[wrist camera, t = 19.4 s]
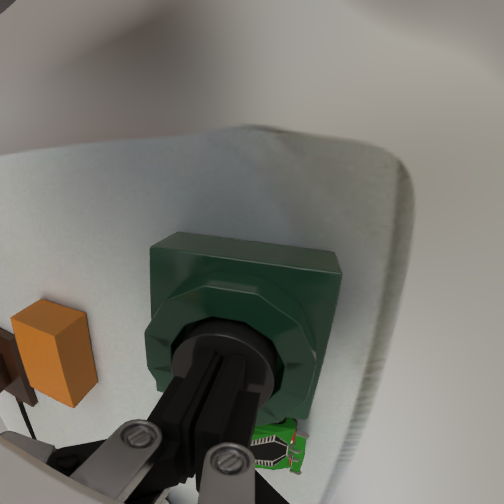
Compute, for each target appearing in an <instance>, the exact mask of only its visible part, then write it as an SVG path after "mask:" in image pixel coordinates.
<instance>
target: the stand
mask: <svg viewBox="0 0 504 504" xmlns="http://www.w3.org/2000/svg"><path fill="white" fill-rule="evenodd" d="M3 390H6V391H7V392H9V393H10V394H12V395H14V396H15V397H17V398H18V399H20V400H22V401H23V402H25V403H27V404H28V405H30V406H32V407H34V406H35V405H36V404H37V403H38V401H37V398H36V396H35V393H34V390H33V388H32V387H31V386H30V383H29V380H28V377H27V374H26V371H25V368H24V365H23V362H22V359H21V355H20V352H19V349H18V345H17V342H16V338H15V336H14V335H12V334H10V333H8V332H6V331H4V330H3V329H1V328H0V393H1V392H2V391H3Z"/></svg>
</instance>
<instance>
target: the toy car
mask: <svg viewBox="0 0 504 504" xmlns="http://www.w3.org/2000/svg"><path fill="white" fill-rule="evenodd" d="M297 422H298V421H297V420H296V419H295V418H289V417H285V418H283V419H282V420H281V421H279V422H275V423H270V424H265V425H260V426H255V428H254V432H253V437H252V441H251V445H250V449H249V450H250V451H251V452H252V454H253V455H254V459H255V468H265V469H271V470H276V469H282V468H288V467H290V466H291V460H292V466H291V469H290V472H291V473H294V474H297V475H300V474H301V470H300V468H301V465H302V462H303V459H304V455H305V444H306V438H308V437H309V435H308V433H307V432H297V429H296V426H297ZM295 437H296V438H295ZM295 439H296V440H295ZM294 446H295V447H294ZM292 455H293V459H292Z"/></svg>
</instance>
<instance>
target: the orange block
mask: <svg viewBox="0 0 504 504" xmlns="http://www.w3.org/2000/svg"><path fill="white" fill-rule="evenodd" d="M11 322H12V326H13V330H14V334H15V338H16V342H17V345H18V349H19V352H20V355H21V359H22V362H23V365H24V368H25V371H26V374H27V377H28V380H29V383H30V386H31V387H33V388H35V389H36V390H38V391H40V392H42V393H44V394H46V395H48V396H50V397H51V398H53V399H55V400H57V401H59V402H61V403H63V404H66V405H68V406H70V407H72V408H75V407H76V406H77V405H78V403H79V402H80V401H81V400H82V399H83V398H84V397H85V396H86V394H87V393H88V392H89V391H90V390H91V389H92V388H93V387H94V386H95V384H96V383H97V382H98V379H97V375H96V370H95V365H94V360H93V354H92V349H91V343H90V337H89V331H88V324H87V317H86V313H85V312H81V311H78V310H75V309H72V308H68V307H65V306H62V305H59V304H56V303H53V302H50V301H47V300H44V299H40V300H38V301H37V302H35V303H33V304H32V305H30V306H28V307H27V308H25V309H23V310H22V311H20V312H18V313H17V314H15V315H14V316H12V317H11Z"/></svg>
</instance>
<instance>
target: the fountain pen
mask: <svg viewBox="0 0 504 504" xmlns="http://www.w3.org/2000/svg"><path fill="white" fill-rule="evenodd" d="M15 398H16V401H17V402H18V405H19V408H20V410H21V413H22V416H23V418H24V421H25V423H26V425H27V427H28V430H29V432H30V434H31V436H32V438H33V439H35V440H37V439H36V437H35V434H34V432H33V429H32V427H31V424H30V421H29V419H28V416H27V413H26V411H25V408H24V405H23V401H22V400H20V399H18V398H17V397H15Z"/></svg>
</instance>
